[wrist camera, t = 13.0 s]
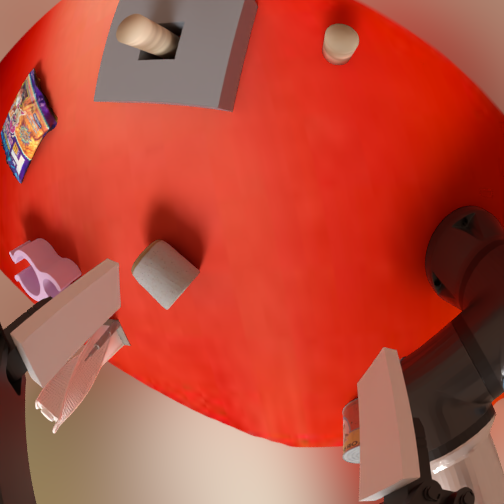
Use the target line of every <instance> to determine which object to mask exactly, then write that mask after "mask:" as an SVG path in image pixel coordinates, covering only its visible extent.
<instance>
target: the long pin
mask: <svg viewBox="0 0 504 504" xmlns="http://www.w3.org/2000/svg"><path fill="white" fill-rule="evenodd" d="M116 38H117V40H118V41H119V42H121V43H123V44H126V45H129V46H132V47H135V48H138V49H140V50H143V51H146V52H148V53H151V54H154V55H156V56H159V57H161V58H164V59H175V56H176V52H177V48H178V44H179V40H180V37H179V36H177V35H176V34H174V33H172V32H171V31H169V30H167V29H166V28H164V27H162V26H160V25H159V24H157V23H155V22H153V21H152V20H150V19H148V18H146V17H144V16H142V15H140V14H132V15H130V16H128V17H126V18H125V19H124V20H123V21H122V22H121V23H120V25H119V26H118V28H117V31H116Z"/></svg>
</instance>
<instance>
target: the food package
mask: <svg viewBox="0 0 504 504" xmlns="http://www.w3.org/2000/svg"><path fill="white" fill-rule="evenodd" d="M56 124H57V116H56V115H55V114H54V113H53V111H52V109H51V108H50V107H49V104H48V100H47V99H46V97H45V95H44V94H43V93H42V91H41V88H40V78H38V77H37V74H36V71H35V68H34V69H33V70H32V71H31V72H30V73H29V75H28V77H27V78H26V80H25V81H24V83H23V85H22V87H21V89H20V91H19V93H18V95H17V97H16V99H15V101H14V103H13V105H12V107H11V109H10V111H9V113H8V115H7V118H6V120H5V123H4V125H3V129H2V131H1V139H2V144H3V145H1V146H3V149H4V150H5V155H6V162H7V164H9V167H10V169H11V170H12V172H13V175H14V176H15V177H16V179H17V180H18V181H19V182H20V183H22V181H23V178H24V175H25V173H26V171H27V168H28V166H29V164H30V162H31V160H32V158H33V156H34V154H35V152H36V150H37V148H38V146H39V144H40V142H41V141H42V139H43V138H44V136H45V135H46V134H47V133H48V132H49V131H51V130H52V129H54V128H55V126H56Z"/></svg>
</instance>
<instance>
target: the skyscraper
mask: <svg viewBox="0 0 504 504" xmlns="http://www.w3.org/2000/svg"><path fill="white" fill-rule="evenodd" d="M124 345H129V346H130V343H129V341H128V339H127V337H126V335H125V333H124V331H123V329H122V327H121V325H120V322H119V320H112V319H108V320H107V321H106V322H105V323H104V324H103V325H102V326H101V327H100V328H99V329H98V330H97V331H96V332H95V333H94V334H93V335H92V336H91V337H90V338H89V340H88V342H87V343H86V345H85V347H84V348H83V350H82V352H81V354H80V355H78V356H76V357H74V358H73V359H71V360H70V361H68V362H67V363H66V364H65V365H64V366H63V367H62V368H61V369H60V370H59V371H58V372H57V373H56V374H55V375H54V377H53V378H52V379H51V380H50V381H49V382H48V383H47V384H46V385H45V387H44V388H43V389H42V391H41V392H40V394H39V396H38V398H37V399H36V401H35V405H36V409H39V408H41V409H42V410H41V412H42V414H43V415H44V416H45V417H46V418H47V419H49V420H50V421H53V420H54V421H55V422H56V423H55V425H54V427H53V433H56V431H57V429H58V428H59V426H60V425H61V424H62V423H63V422H64V421H65V420H66V419H67V418H68V417H69V416H70V414H72V412H73V411H74V410H75V409H76V408H77V407H78V406H79V404H80V403H81V402H82V400H83V399H84V398H85V396H86V395H87V393H88V392H89V390H90V388H91V387H92V385H93V383H94V381H95V379H96V377H97V375H98V373H99V371H100V368H101V366H102V365H103V364H105V362H107V361H108V360H109V359H110V358H111V357H112V356H113V355H114V354H115V353H116V352H117V351H118V350H119V349H120V348H121V347H123V346H124ZM37 403H38V407H37Z"/></svg>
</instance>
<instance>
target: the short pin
mask: <svg viewBox="0 0 504 504" xmlns="http://www.w3.org/2000/svg"><path fill="white" fill-rule="evenodd" d="M358 44H359V37H358V34H357V33H356V31H355V30H354V29H353V28H351V27H350V26H347V25H345V24H333V25H331V26H329V27H328V28H327V30H326V32H325V37H324V43H323V48H322V53H323V56H324V58H325V59H326V60H327V61H328V62H330V63H332V64H334V65H343V64H346V63H347V62H348V61H349V60H350V58H351V56H352V55H353V53H354V51H355V50H356V48H357V46H358Z"/></svg>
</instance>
